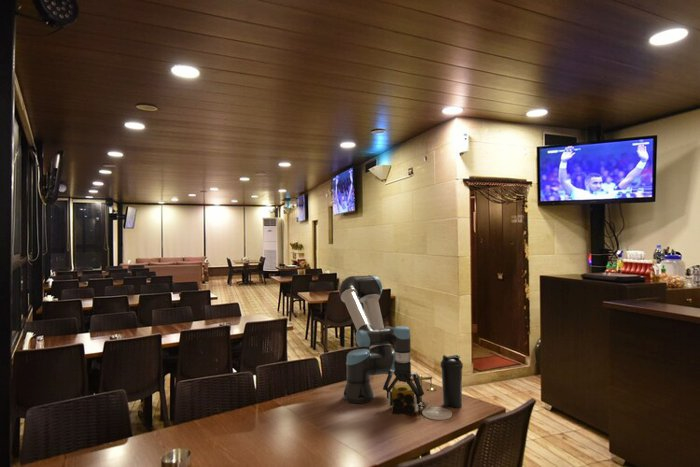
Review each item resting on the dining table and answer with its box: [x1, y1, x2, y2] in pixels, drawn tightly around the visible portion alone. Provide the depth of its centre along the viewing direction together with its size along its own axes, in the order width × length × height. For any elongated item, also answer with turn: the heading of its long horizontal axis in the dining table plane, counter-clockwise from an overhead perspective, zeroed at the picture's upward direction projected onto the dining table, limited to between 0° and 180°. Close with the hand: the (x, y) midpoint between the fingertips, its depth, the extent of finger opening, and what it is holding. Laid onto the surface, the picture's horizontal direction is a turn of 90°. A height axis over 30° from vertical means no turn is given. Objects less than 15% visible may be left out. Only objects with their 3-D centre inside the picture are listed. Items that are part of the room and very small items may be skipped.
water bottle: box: [440, 354, 464, 409], centre depth 197 cm, size 10×10×23 cm
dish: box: [422, 406, 453, 421], centre depth 186 cm, size 13×13×1 cm
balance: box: [410, 374, 437, 406], centre depth 199 cm, size 16×5×14 cm, turn 59°
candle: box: [391, 384, 416, 415], centre depth 191 cm, size 10×10×10 cm
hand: (403, 408), depth 191 cm, fingers closed on candle, 12 cm apart
